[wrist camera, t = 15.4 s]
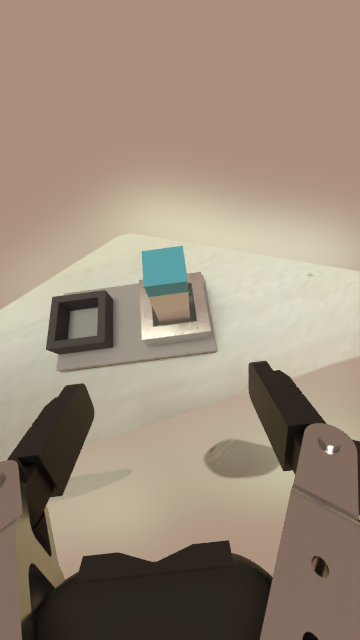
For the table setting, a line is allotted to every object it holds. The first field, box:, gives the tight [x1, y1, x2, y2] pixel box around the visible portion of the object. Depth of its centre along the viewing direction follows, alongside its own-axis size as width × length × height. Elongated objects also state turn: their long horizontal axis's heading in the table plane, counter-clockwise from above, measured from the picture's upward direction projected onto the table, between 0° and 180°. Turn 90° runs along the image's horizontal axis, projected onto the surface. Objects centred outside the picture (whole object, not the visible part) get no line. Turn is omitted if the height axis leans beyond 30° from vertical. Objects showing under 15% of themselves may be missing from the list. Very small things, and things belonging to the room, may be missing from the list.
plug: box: [142, 246, 190, 326], centre depth 26 cm, size 4×4×12 cm
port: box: [139, 272, 211, 347], centre depth 30 cm, size 9×9×4 cm
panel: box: [57, 275, 217, 371], centre depth 32 cm, size 22×12×1 cm, turn 96°
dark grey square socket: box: [46, 290, 113, 354], centre depth 30 cm, size 8×8×3 cm
